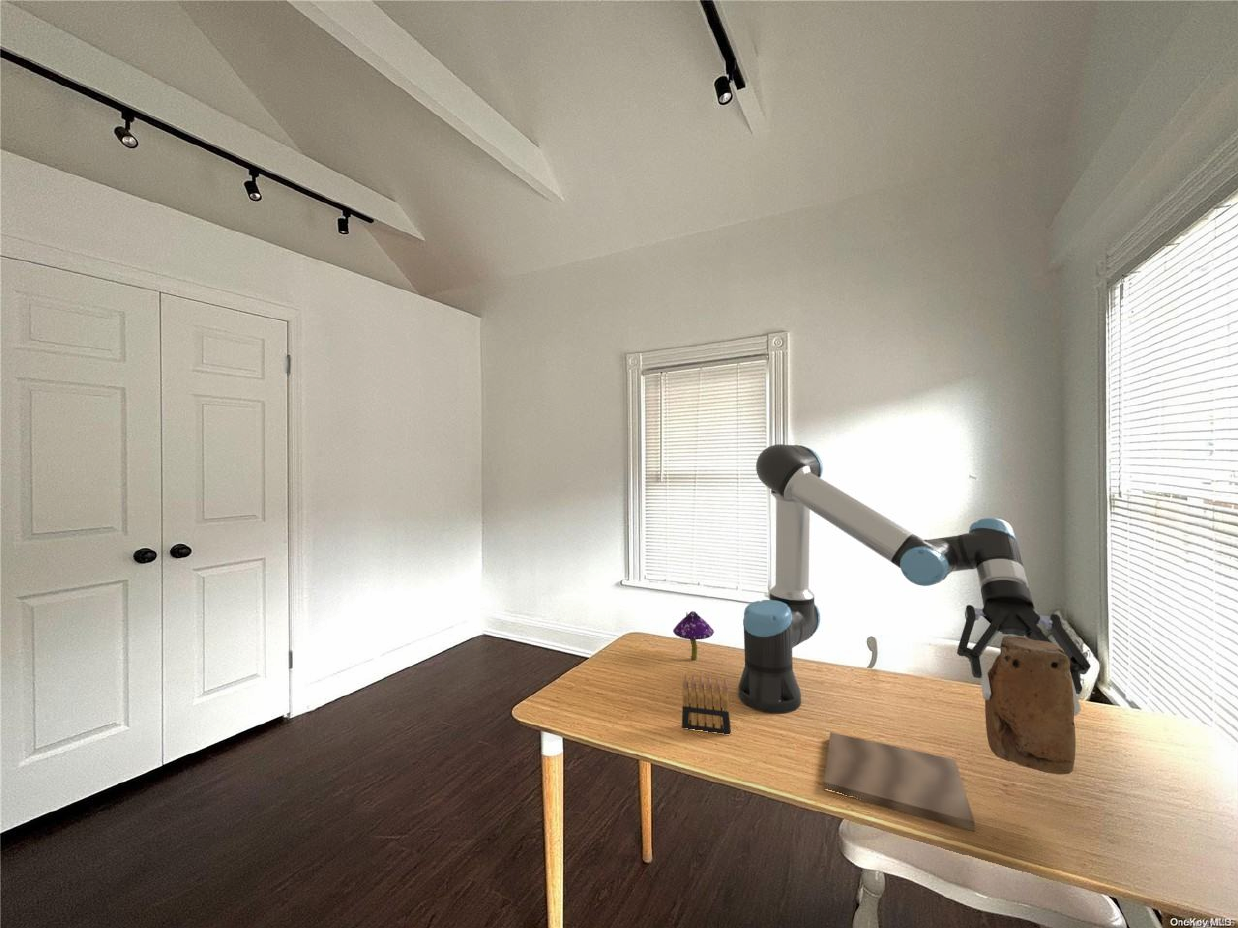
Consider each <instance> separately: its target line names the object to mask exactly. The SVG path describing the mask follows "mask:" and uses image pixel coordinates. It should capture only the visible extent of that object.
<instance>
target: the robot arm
mask: <svg viewBox="0 0 1238 928" xmlns="http://www.w3.org/2000/svg"><path fill="white" fill-rule="evenodd" d="M755 464H756V465H755V470H756V474H757V476H758V477H757V478H759V480H760V481H761V482H762V484H763V485H765V486H766V487H767V488H768V489H770V493H771V495H772V496H773V497H774V498H775V500H776V526H775V531H776V532H775V534H776V535H775V585H774V586H773V587H771V588H770V590H769V599H763V600H757V601H753V602H751V603H750V604H747V606H746V607H745V608H744V611H743V620H742V625H743V641H744V642H743V643H744V646H743V647H744V648H743V649H744V651H743V652H744V667H743V671H742V674H741V677H740V679H739V682H738V690H737V691H738V698H739V699H740V701H741V702H742V703H743V704H745V705H746V706H748V707H750V708H751V709H752V708H753V709H754V710H757V711H762V712H765V713H774V714H776V713H778V714H780V713H781V714H782V713H790V712H793V711H795V710H797V709H799V708H800V707H801V705H802V694H801V693H802V692H801V690H800V687H799V684H798V682H797V679H796V676H795V673H794V670H793V669H794V668H793V667H794V666H793V649H794V647H797V646H798V645H799V644H801V643H804V641H807V640H809V639H810V638H811V637H812V636H814V635H815V633H816V632H818V631H817V630H818V629H819V627H820V623H821V613H820V610H819V607H818V606H817V605H816V604H815V593H814V592H812V591H811V589H810V588H809V585H810V582H809V580H810V579H809V578H810V577H809V576H810V574H809V573H810V517H811V516H810V515H811V513H810V512H811V511H812V512H813V513H814V514H816V515H818V516H819V517H821V518H822V519H824V520H825V521H827V522H829V523H830V524H832V525H833V526H834V527H836V528H838V529H839V530H840V531H842V532H844V533H845V534H847V535H848V536H850V537H852V538H853V539H855V540H856V541H858V542H859V543H861V544H862V545H864V546H865V547H867V548H868V549H870V550H872V551H873V552H875V553H876V554H878V555H879V556H881V557H882V558H884V559H886V560H887V561H888V562H890V563H892V564H893V565H894V566H896V567H897V568H899V569H900V571H901V573H902V575H903V576H904V577H905V578H906V579H907V580H908V581H909V582H910V583H913V584H914V585H917V586H922V587H927V586H928V587H929V586H932V585H937V584H939V583H941V582H942V581H944V580H945V579H946V578H947V577H948V575H949V574H952V573H953V572H960V571H967V570H968V571H969V570H975V569H976V572H977V577H978V584H979V587H980V594H981V599H982V604H983V606H982V607H983V608H977V607H974V606H973V605H972V604H967V605H966V607H965V611H964V617H965V623H964V626H963V629H962V633H961V636H960V639H959V643H958V647H957V651H956V654H957V655H958V656H959V657H965V658H967V659H968V661H969V663H970V668H971V674H972V677H973V678H977V679H979V680H980V688H981V692H982V693H981V694H982V699H983V700H984V701H985V700H989V698H990V696H991V690H990V684H989V678H988V668H987V662H986V657H985V656H982V654H983V653H984V652H985V650H986V649H987V648H988V646H989V645H990V644H991V642H992V641H993V639H994V638H995V637H996V636H997V634H998V633H999V632H1000V633H1001V634H1002V635H1015V636H1016V637H1024V638H1029V639H1032V640H1039V641H1047V642H1051V643H1053V641H1051V640H1050V638H1048V637H1047V635H1045V634H1044V633H1043V630H1042V629H1041V627H1039V626H1038V624H1039V623H1041V624H1042V625H1043V626H1044V627H1045V629H1047V630H1049V632H1050V634H1051V636H1052V637H1053V639H1054V640H1055V642H1056V643H1057V645H1058V646H1059V647H1061V648H1062V649H1063V651H1064V652H1065V654H1066V656H1067V657H1068V659H1069V661H1070V669H1069V672H1070V675H1071V678H1072V687H1073V701H1074V717H1075V716H1076V717H1077V716H1078V714H1079V713H1080V712H1081V710H1082V709H1081V706H1080V701H1079V697H1078V695H1081V693H1082V691H1083V686H1082V682H1081V679H1080V676H1079V675H1086V674H1087V673H1088V672H1089V670H1090V669H1091V666H1092V665H1091V664H1090V662H1089V661H1088V660H1087V658H1086V656H1084V654H1083V653H1082V652H1081V650H1080V648H1078V646H1077V645H1076V643H1075V642H1074V640H1073V639H1072V638H1071V636H1070V635H1069V634H1068V633H1067V631H1066V630H1065V628H1064V627H1063V626H1062V620H1061V617H1060V616H1059V615H1058V614H1055V613H1052V614H1051V615H1050V616H1049V615H1040V614H1039V613H1038V611H1036V609H1035V605H1034V602H1033V598H1032V593H1031V591H1030V588H1029V587H1030V586H1029V583H1028V578H1027V575H1026V571H1025V568H1024V565H1023V561H1022V555H1021V553H1020V552H1021V551H1020V548H1019V542H1018V540H1017V537H1016V534H1015V532H1014V529H1013V527H1012V525H1011V524H1010V523H1009V522H1007V521H1005V520H1003V519H1000V518H995V517H985V518H982V519H978V520H977V521H974V522H972V523H971V525H970V526H969V529H968V532H966V533H962V534H959V535H958V534H957V535H952V536H946V537H939V538H938V537H937V538H931V539H922V538H921V537H919V536H917V535H915V534H914V533H913V532H911V531H910V530H908V529H906V528H905V527H903V526H901V525H900V524H898V523H896V522H894V521H893V520H891V519H890V518H887V517H886V516H884V515H883V514H881V513H879V512H878V511H876V510H875V509H873V508H871V507H869V506H868V505H867V504H865V503H863V502H861V501H859V500H857V499H856V498H855V497H853V496H852V495H849V494H848V493H845V492H844V491H842V490H841V489H839V488H838V487H836V486H835V485H832V484H830V483H829V482H828V481H825V480H824V479H822V475H823V470H824V469H823V468H824V466H823V462H822V460H821V457H820V456H819V454H818V453H817V452H816V451H814V450H813V449H811V448H809V447H806V446H803V445H799V444H794V445H793V444H782V443H781V444H779V443H778V444H772V445H769V446H767V447H766V448H764V449H763V450H762V452H761V453H760V454H759V455H758V457H757V460H756V463H755ZM981 616H982V617H983V618H984V620H986V621H987V623H989V626H988V627H987V629H986V630H985V631H984V632H983V634H982V635H981V637H980V638H979V639H978V641H977V642H976V643H975V645H974V646H973V647H972V648H969V647H968V645H969V642H970V638H971V634H972V631H973V628H974V625H975V621H978V620H979V619H980V618H981Z"/></svg>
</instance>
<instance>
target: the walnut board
mask: <svg viewBox="0 0 1238 928" xmlns="http://www.w3.org/2000/svg"><path fill="white" fill-rule="evenodd" d="M825 762H826V763H825V770H824V778H823V790H824V789H828V790H832V791H835V792H839V793H842V794H844V795H847V796H853V797H855V798H858V799H861V800H863V801H862V802H865V801H866V802H865V803H869V802H870V804H872V803H873V805H876V806H880V807H883V806H884V808H887V807H888V808H887V809H891V808H892V810H894V809H896V810H895V811H899V812H902V813H905V812H906V813H905V814H909V815H913V816H917V817H919V818H923V819H928V820H931V821H935V822H939V823H943V824H945V825H950V826H953V827H956V826H957V828H960V829H963V830H966V831H967V830H968V831H971V832H975V829H976V828H975V820H974V816H973V812H972V809H971V807H970V804H969V800H968V796H967V793H966V790H965V788H964V783H963V781H962V777H961V773H960V770H959V768H958V765H957V762H956V759H954V758H949V757H945V756H941V755H936V754H932V753H926V752H922V751H918V750H914V749H908V748H905V747H900V746H895V745H892V744H891V745H890V744H886V743H882V742H878V741H877V742H876V741H874V740H873V741H872V740H868V739H863V738H859V737H856V736H855V737H854V736H849V735H844V734H840V733H836V732H830V733H829V739H828V746H827V755H826V761H825ZM847 796H846V797H847ZM858 799H857V800H858ZM861 800H860V801H861Z"/></svg>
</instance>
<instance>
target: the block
mask: <svg viewBox="0 0 1238 928" xmlns="http://www.w3.org/2000/svg"><path fill="white" fill-rule="evenodd" d="M1051 642H1052V641H1051ZM1051 642H1047V641H1039V640H1032V639H1029V638H1027V637H1025V636H1024V637H1023V636H1010V635H1006V636H1003V638H1002V640H1001V643H1000V652H999V654H998V655H997V656H996V657H995V660H994V662H993V663H992V665H991V668H990V669H989V670H988V671H987V673H988V678H989V684H990V690H991V696H990V698H989V700H985V699H984V711H985V712H984V713H985V727H986V728H985V729H986V735H987V743H988V746H989V748H990V751H991V752H992V753H993V755H995V756H996V757H997V758H999V759H1000V760H1004V761H1006V762H1012V763H1014V764H1016V765H1017V766H1018V765H1019V766H1020V767H1024V768H1027V769H1032V770H1036V771H1039V772H1042V773H1045V774H1052V775H1069V774H1070V775H1071V773H1072V772H1073V770H1074V766H1075V762H1076V761H1075V760H1076V746H1077V745H1076V744H1077V743H1076V741H1077V739H1076V726H1075V725H1076V724H1075V722H1074V721H1075V716H1074V701H1073V687H1072V678H1071V675H1070V672H1069V669H1070V661H1069V659H1068V657H1067V656H1066V654H1065V652H1064V651H1063V649H1062V648H1061V647H1060V646H1059V645H1058V644H1056V643H1054V642H1052V643H1051Z"/></svg>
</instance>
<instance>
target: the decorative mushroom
mask: <svg viewBox="0 0 1238 928" xmlns="http://www.w3.org/2000/svg"><path fill="white" fill-rule="evenodd" d="M672 631H673V634H674V635H675V636H676V637H679V638H681V639H685V640H689V641H690V644H691V656H690V659H691V661H697V659H698V645H697V641H698V640H705V639H708V638H710V637H712V636H713V635H714V633H715V631H714V629H713V628H712V627H711V626H710V624H709V623H707V621H706V620H705V619H704V618H702V617H701V616H700V615H699V614H698V613H697V612H696V611H693V610H692V611H690V612H689V613H688V614H687V615H686V616H684V617H683V618H682V619H681V620H680V621H679V622H678V623H677V624H676V626H675V627H674V628H673V630H672ZM696 640H697V641H696Z"/></svg>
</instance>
